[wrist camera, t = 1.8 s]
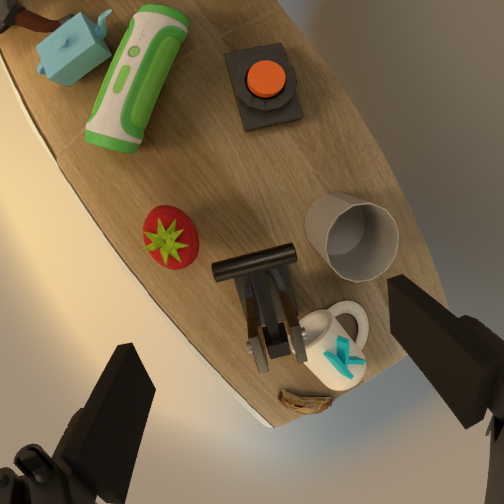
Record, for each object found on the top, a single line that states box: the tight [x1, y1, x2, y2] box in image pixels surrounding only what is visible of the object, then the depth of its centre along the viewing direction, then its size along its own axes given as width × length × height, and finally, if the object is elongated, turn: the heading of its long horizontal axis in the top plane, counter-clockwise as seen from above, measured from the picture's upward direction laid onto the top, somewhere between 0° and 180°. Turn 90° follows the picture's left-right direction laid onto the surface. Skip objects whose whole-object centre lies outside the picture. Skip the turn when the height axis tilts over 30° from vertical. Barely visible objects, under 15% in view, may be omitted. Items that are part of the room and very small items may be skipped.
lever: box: [211, 243, 297, 359], centre depth 27 cm, size 14×6×2 cm, turn 14°
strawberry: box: [140, 205, 199, 270], centre depth 35 cm, size 6×8×10 cm
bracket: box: [234, 265, 308, 373], centre depth 36 cm, size 8×7×14 cm
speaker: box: [85, 4, 189, 154], centre depth 31 cm, size 18×7×8 cm, turn 159°
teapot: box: [36, 9, 112, 87], centre depth 28 cm, size 12×6×8 cm, turn 118°
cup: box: [304, 192, 400, 283], centre depth 36 cm, size 8×8×10 cm
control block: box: [225, 43, 303, 132], centre depth 33 cm, size 10×7×4 cm
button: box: [247, 60, 286, 98], centre depth 31 cm, size 4×4×2 cm
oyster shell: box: [278, 389, 334, 414], centre depth 47 cm, size 6×4×10 cm
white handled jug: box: [288, 301, 369, 391], centre depth 42 cm, size 12×9×12 cm
